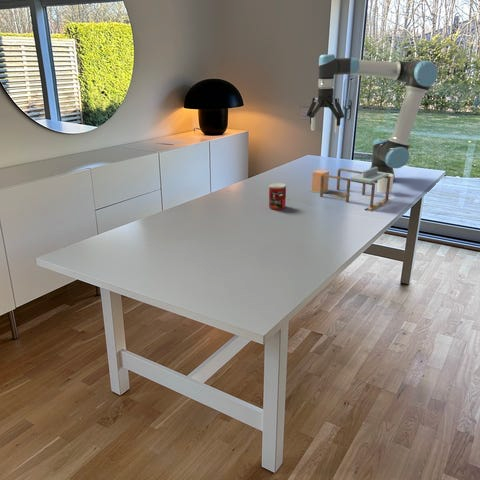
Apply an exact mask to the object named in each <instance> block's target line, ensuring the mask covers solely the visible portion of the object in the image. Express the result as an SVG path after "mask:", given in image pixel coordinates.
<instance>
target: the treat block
mask: <svg viewBox="0 0 480 480" xmlns="http://www.w3.org/2000/svg"><path fill="white" fill-rule="evenodd" d="M322 174H325V175H330V171H328V170H322V169H317V170H314V171H312V179H311V190H312V191H315V192H319V193H320V186H321V176H322ZM329 178H330V177H324V183H323V192H325V191H328V190H329ZM319 193H318V194H319Z"/></svg>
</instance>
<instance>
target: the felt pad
mask: <svg viewBox="0 0 480 480" xmlns="http://www.w3.org/2000/svg"><path fill="white" fill-rule="evenodd" d="M308 192H311V193H315V194H319V195H320V193H319V192H315V191H312V189H310V190H308ZM328 192H331V190H330V189H328V191H325V192H323V195H324V194H326V193H328Z"/></svg>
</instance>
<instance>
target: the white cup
mask: <svg viewBox="0 0 480 480" xmlns="http://www.w3.org/2000/svg"><path fill="white" fill-rule="evenodd" d="M394 175H395V173H394V174H391V173H389V176H390V177H391V179H390V187H389V194H391V193H392V189H393V184H394V181H393V179H394ZM387 180H388V178H382V179H379V180H378V182H376V183H377V185H376V186H377V187H376V188H377V192H378V193H381V194H386V189H387Z"/></svg>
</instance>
